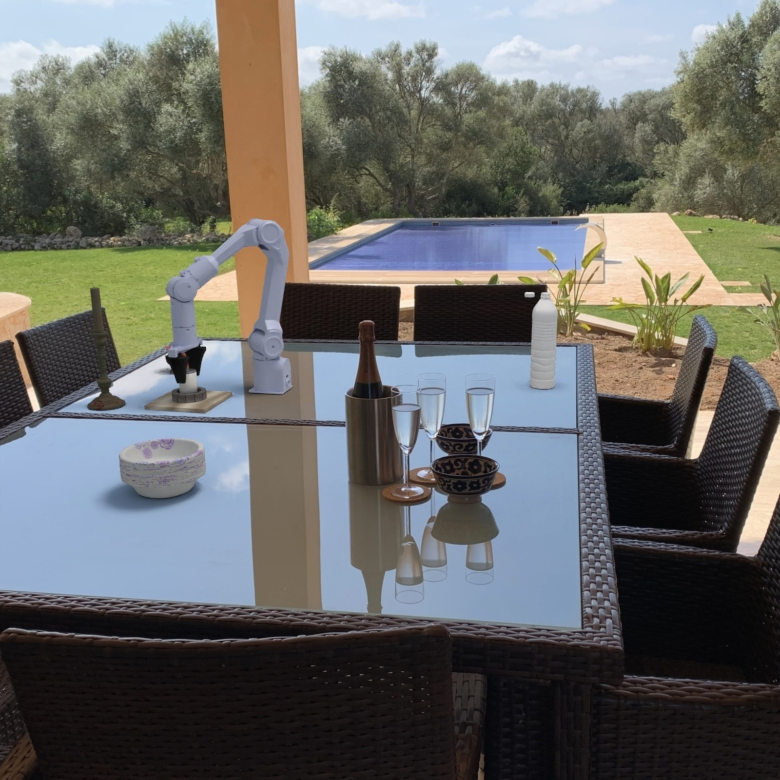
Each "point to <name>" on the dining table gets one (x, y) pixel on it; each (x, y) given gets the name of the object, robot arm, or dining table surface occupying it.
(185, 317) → the robot arm
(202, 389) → the tan square tray
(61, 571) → the dining table surface
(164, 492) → the paper bowls
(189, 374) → the grey capped cylinder
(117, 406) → the candlestick holder
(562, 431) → the dining table surface
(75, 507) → the dining table surface
